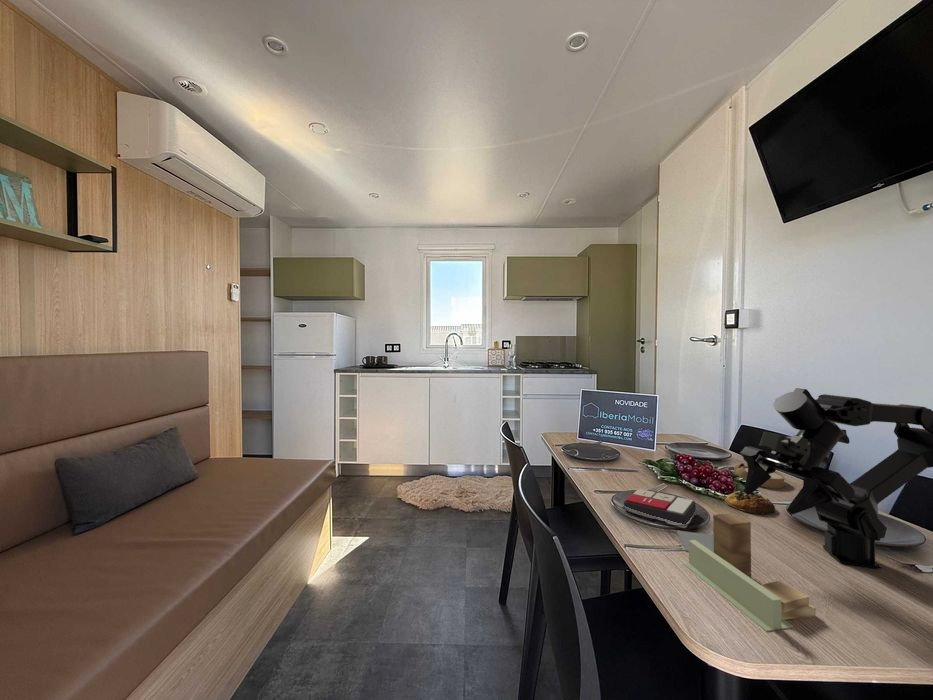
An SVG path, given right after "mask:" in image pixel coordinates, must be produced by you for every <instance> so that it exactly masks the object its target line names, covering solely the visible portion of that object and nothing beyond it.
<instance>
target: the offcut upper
mask: <svg viewBox="0 0 933 700" xmlns="http://www.w3.org/2000/svg"><path fill="white" fill-rule="evenodd" d="M760 585H761V586H763V587H764V588H766V589H767V590H769V591H770V592H771V593H773V594H774V595H776V596H777V597H779V598H780V599H781V610H782V611H783V612H787V611H790V610H794V609H798V608H801V607H805V606H809V604H810V596H809V595H808V594H805V593H803V592H802V591H800V590H798V589H796V588H794V587H793V586H791V585H789V584H788V583H785V582H783V581H782V580H776V581H772V582H768V583H762V584H760Z"/></svg>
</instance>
